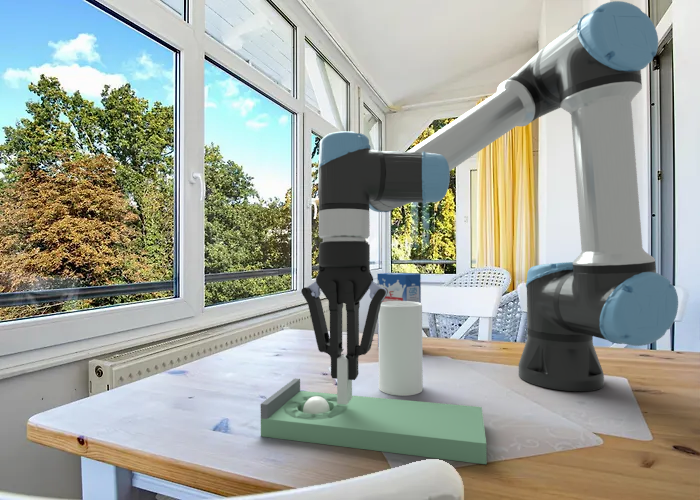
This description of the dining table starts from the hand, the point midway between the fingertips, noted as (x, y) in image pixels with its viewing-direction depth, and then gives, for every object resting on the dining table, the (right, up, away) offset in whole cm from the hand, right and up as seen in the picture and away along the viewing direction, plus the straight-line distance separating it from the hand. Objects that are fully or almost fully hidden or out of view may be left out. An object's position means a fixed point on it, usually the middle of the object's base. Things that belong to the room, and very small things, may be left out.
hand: (344, 400), depth 60 cm
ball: (-4, -2, +1) cm, 5 cm away
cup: (+10, -4, +17) cm, 20 cm away
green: (+4, -4, -1) cm, 6 cm away
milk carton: (+14, -4, +49) cm, 51 cm away
